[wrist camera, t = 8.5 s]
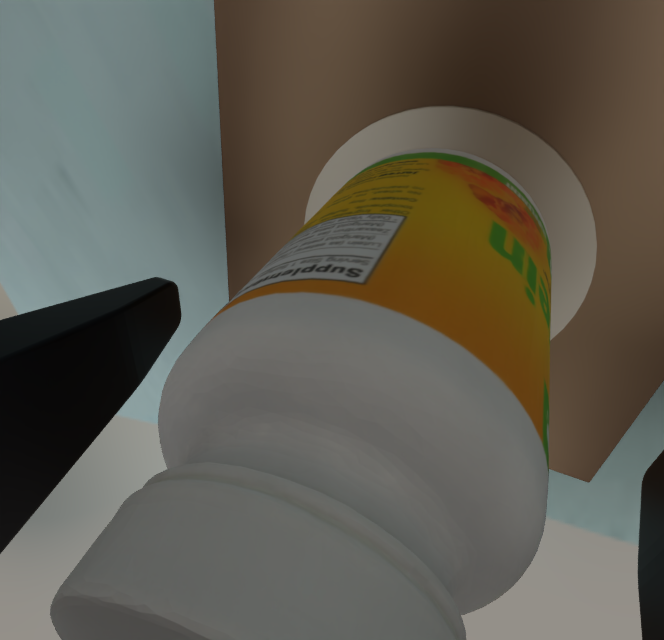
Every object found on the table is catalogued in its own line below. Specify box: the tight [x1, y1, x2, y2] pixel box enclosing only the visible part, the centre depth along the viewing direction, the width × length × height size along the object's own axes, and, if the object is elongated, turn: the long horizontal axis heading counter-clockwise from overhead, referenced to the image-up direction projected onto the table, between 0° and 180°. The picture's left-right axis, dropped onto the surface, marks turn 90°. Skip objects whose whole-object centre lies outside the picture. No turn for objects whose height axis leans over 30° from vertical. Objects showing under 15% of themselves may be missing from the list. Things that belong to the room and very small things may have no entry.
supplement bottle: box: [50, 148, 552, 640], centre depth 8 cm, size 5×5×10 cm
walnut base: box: [214, 0, 664, 482], centre depth 13 cm, size 12×12×3 cm
